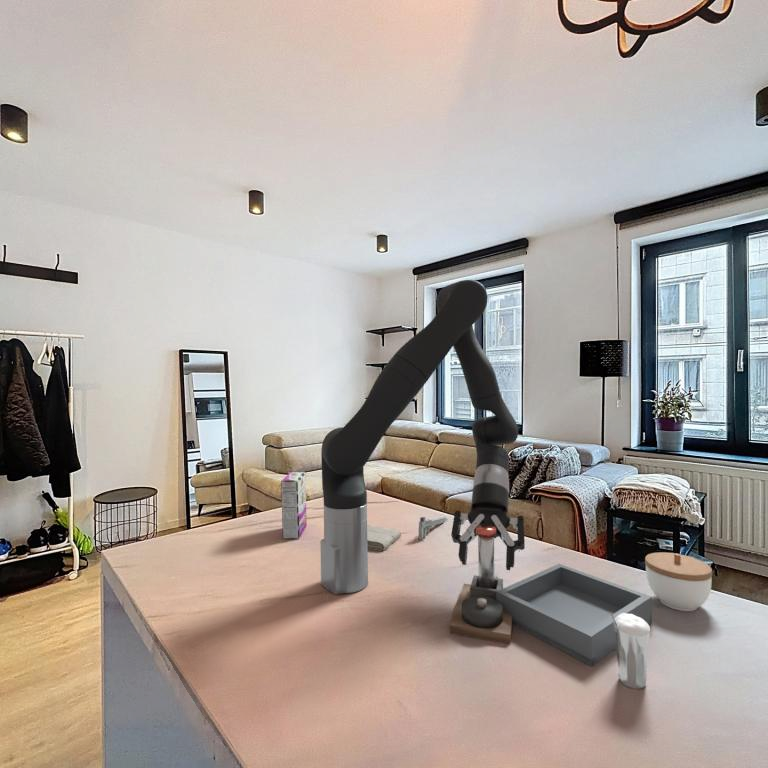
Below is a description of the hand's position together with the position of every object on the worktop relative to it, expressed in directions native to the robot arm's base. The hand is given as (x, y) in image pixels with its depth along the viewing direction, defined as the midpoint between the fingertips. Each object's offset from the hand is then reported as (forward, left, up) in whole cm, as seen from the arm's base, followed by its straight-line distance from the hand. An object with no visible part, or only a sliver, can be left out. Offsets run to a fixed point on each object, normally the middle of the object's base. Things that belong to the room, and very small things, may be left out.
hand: (485, 565), depth 84 cm
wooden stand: (-2, -1, -8) cm, 8 cm away
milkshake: (0, -26, -8) cm, 27 cm away
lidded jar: (+30, -21, -8) cm, 38 cm away
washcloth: (+2, +45, -9) cm, 46 cm away
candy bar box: (-11, +62, -8) cm, 63 cm away
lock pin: (+1, +1, -6) cm, 7 cm away
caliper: (+22, +39, -8) cm, 46 cm away
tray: (+9, -12, -8) cm, 17 cm away
